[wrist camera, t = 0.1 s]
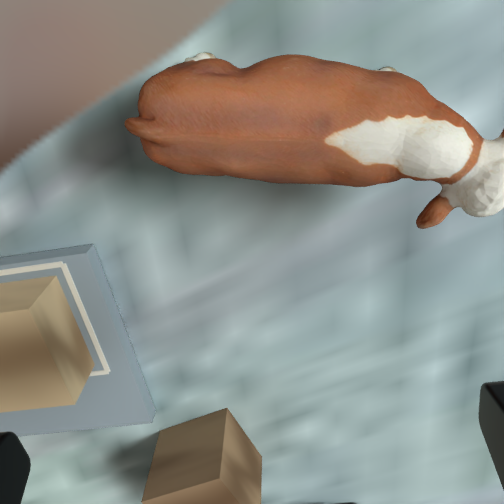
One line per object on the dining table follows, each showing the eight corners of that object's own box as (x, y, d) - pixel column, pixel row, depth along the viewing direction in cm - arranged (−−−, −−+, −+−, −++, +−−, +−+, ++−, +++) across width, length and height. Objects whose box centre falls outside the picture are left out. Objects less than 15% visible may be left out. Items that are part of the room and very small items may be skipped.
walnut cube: (261, 455, 31) (260, 529, 26) (197, 475, 32) (186, 549, 28) (227, 406, 29) (219, 478, 24) (160, 429, 30) (141, 502, 26)
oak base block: (94, 364, 26) (74, 404, 23) (-3, 376, 27) (-32, 416, 24) (56, 275, 23) (29, 309, 21) (-51, 290, 24) (-91, 325, 21)
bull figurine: (445, 176, 21) (536, 259, 14) (159, 129, 21) (100, 192, 13) (482, 77, 19) (610, 116, 12) (165, 23, 19) (100, 30, 11)
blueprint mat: (155, 410, 29) (151, 423, 28) (10, 425, 30) (1, 438, 29) (93, 244, 24) (86, 253, 23) (-82, 269, 25) (-96, 279, 24)
